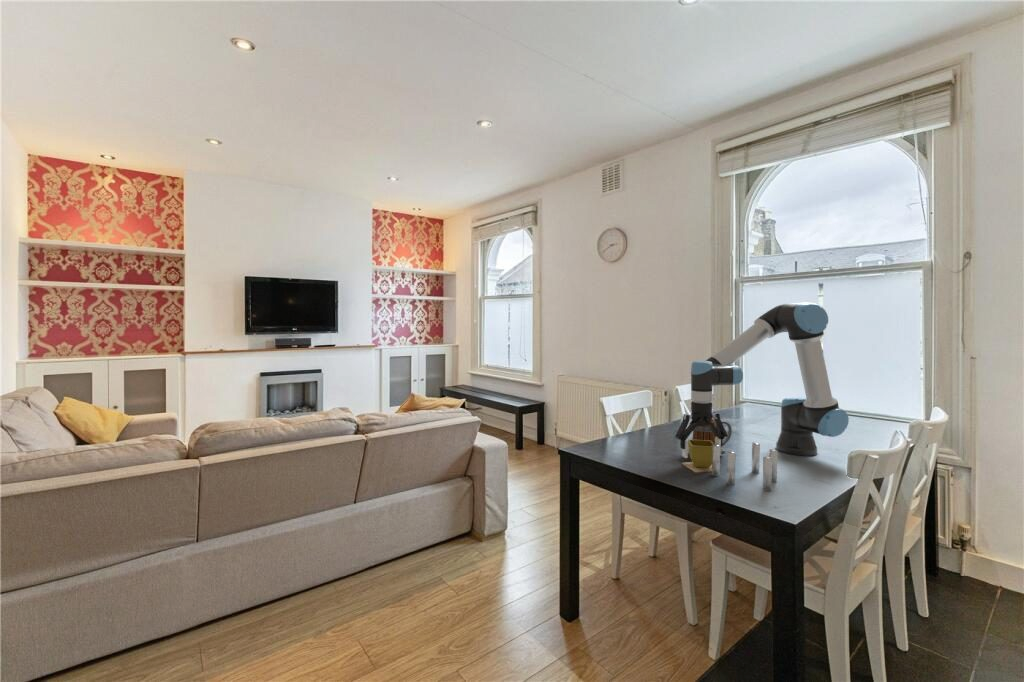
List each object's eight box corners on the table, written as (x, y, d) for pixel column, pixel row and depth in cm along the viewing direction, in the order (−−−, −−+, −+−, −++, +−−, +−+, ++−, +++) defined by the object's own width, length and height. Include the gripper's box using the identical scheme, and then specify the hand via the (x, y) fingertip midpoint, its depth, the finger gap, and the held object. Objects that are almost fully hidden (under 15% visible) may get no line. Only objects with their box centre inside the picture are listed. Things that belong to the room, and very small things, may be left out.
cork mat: (705, 462, 181) (705, 461, 181) (720, 471, 171) (720, 469, 171) (681, 464, 180) (681, 462, 180) (695, 472, 170) (695, 470, 170)
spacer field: (756, 471, 171) (756, 442, 170) (794, 489, 152) (795, 457, 152) (710, 473, 168) (711, 444, 168) (744, 493, 149) (744, 460, 149)
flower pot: (716, 470, 170) (716, 446, 170) (691, 468, 172) (691, 445, 172) (710, 463, 179) (711, 440, 179) (687, 461, 181) (687, 439, 180)
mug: (692, 457, 188) (693, 421, 187) (689, 450, 198) (689, 416, 197) (733, 460, 184) (734, 423, 183) (728, 452, 194) (728, 418, 194)
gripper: (725, 398, 180) (725, 451, 181) (666, 401, 176) (666, 455, 177) (737, 401, 172) (737, 456, 173) (676, 404, 169) (676, 461, 170)
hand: (701, 456), depth 175 cm, fingers open, 13 cm apart
